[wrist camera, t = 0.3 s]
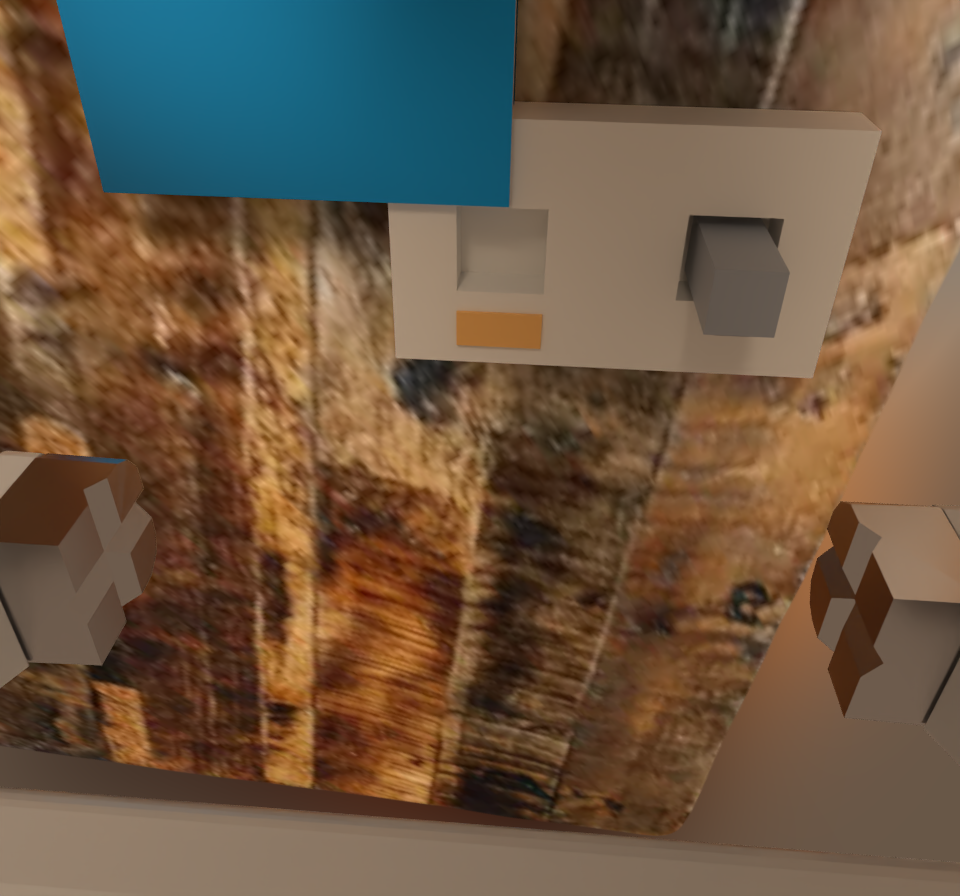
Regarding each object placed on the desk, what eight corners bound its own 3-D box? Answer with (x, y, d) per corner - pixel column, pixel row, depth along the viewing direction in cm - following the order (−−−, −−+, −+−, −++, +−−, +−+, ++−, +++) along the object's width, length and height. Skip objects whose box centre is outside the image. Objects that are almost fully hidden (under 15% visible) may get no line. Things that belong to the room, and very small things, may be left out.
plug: (694, 210, 54) (715, 269, 46) (758, 213, 53) (789, 272, 46) (682, 281, 56) (701, 346, 49) (743, 283, 56) (771, 350, 49)
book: (19, -132, 42) (519, -131, 41) (61, -133, 46) (523, -132, 44) (105, 205, 52) (511, 217, 51) (135, 182, 56) (515, 193, 54)
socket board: (394, 97, 52) (382, 115, 48) (861, 112, 50) (883, 132, 47) (404, 330, 61) (395, 360, 58) (798, 349, 60) (813, 380, 56)
